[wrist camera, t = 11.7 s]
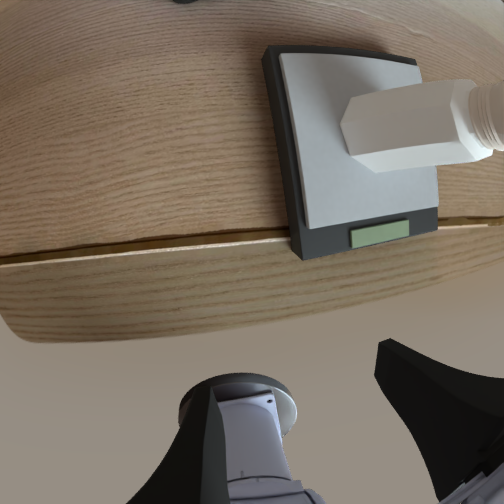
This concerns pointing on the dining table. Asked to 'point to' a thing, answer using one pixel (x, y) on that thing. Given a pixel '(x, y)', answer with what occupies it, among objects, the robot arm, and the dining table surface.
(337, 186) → the scale
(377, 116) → the pepper shaker
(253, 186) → the dining table surface
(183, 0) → the phone
